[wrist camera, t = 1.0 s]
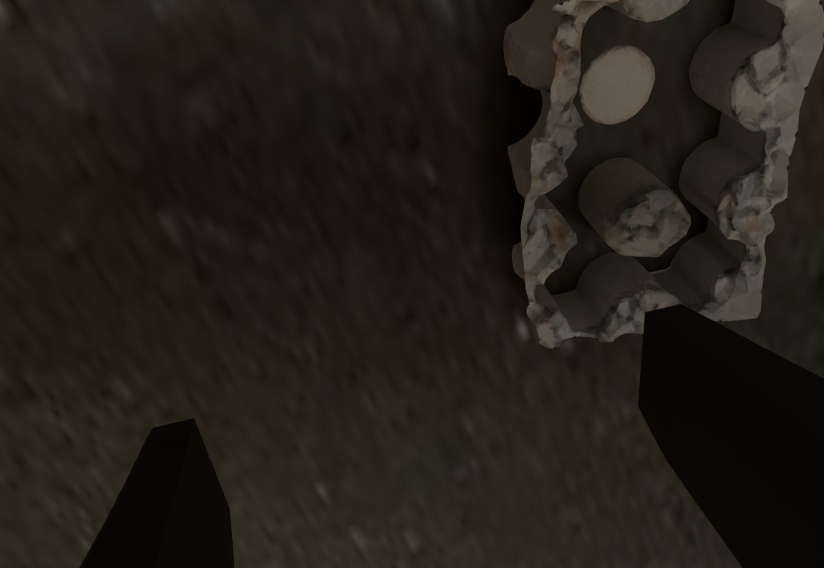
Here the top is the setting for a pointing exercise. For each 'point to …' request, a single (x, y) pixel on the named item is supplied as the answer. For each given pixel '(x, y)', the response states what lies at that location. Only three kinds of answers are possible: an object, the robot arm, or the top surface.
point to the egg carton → (636, 186)
